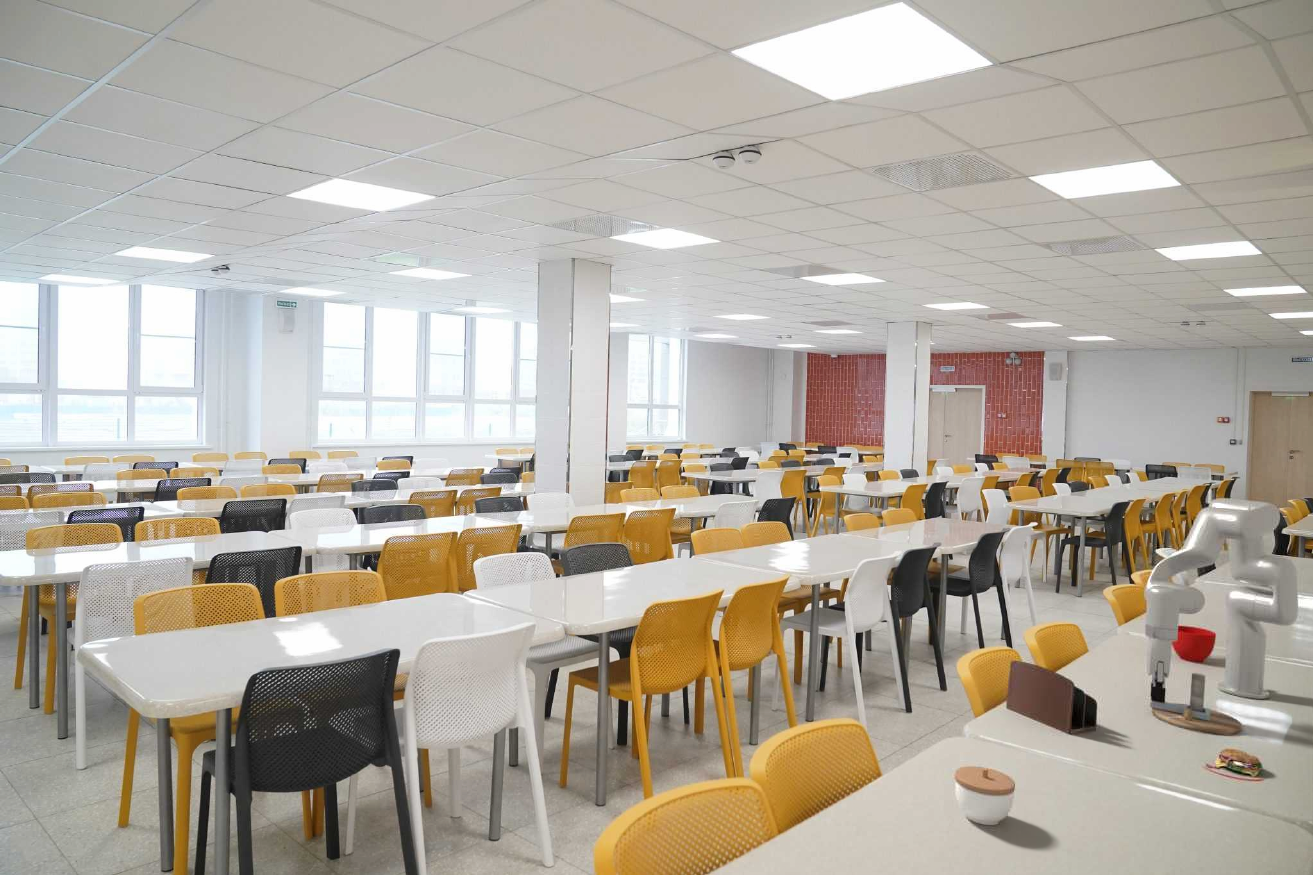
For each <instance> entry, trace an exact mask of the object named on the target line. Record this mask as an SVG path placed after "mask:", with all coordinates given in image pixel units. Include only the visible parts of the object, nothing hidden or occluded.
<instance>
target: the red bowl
mask: <svg viewBox="0 0 1313 875" xmlns="http://www.w3.org/2000/svg"><path fill="white" fill-rule="evenodd" d="M1216 636H1217V634H1216V632H1215V631H1212V630H1209V629H1205V628H1201V627H1196V626H1187V625H1178V637H1177V641H1174V642H1172V649H1173V651H1174V652H1175V654H1176V655H1177V656H1178V657H1179V659H1180V660H1183V661H1187V662H1191V663H1203V662H1204V661H1205V660H1207V659H1208V658H1209V657H1210V655H1211V654H1212V652H1213V651H1214V648H1215V644H1216Z"/></svg>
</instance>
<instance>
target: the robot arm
mask: <svg viewBox="0 0 1313 875" xmlns="http://www.w3.org/2000/svg"><path fill="white" fill-rule="evenodd" d="M1280 514H1281V513H1280V510H1279V509H1278V507H1277V506H1276V505H1274V504H1273V503H1271V502H1265V501H1256V500H1246V499H1237V498H1229V497H1228V498H1227V497H1226V498H1225V497H1223V498H1222V497H1221V498H1215V499H1212V500H1211V501H1210V502H1209V504H1208V507H1207V506H1206V507H1203V508H1202V509H1201V510H1199V512H1198V514H1197V515H1196V517H1195V520H1194V521H1193V524H1192V525H1191V529H1190V530H1189V533H1188V535H1187V537H1186V539H1185V541H1184V544H1183V546H1182V547H1181V548H1180V549H1179V550H1177V551H1175V552H1172V553H1171V554H1169V555H1168V556H1166V557H1165V558H1163V559H1162V560H1161V561H1159V562H1158V563H1157V564H1156V565H1155V566H1154V567H1153V569H1152V570H1151V573H1150V575H1149V577H1148V579H1147V582H1146V584H1145V587H1144V590H1143V591H1144V592H1143V593H1144V594H1143V596H1144V599H1145V602H1146V614H1145V630H1144V637H1146V638H1148V646H1147V659H1146V660H1147V661H1146V672H1147V675H1148V676H1151V675H1152V676H1151V679H1152V680H1151V682H1150V701H1155V702H1160V703H1165V702H1166V691H1167V690H1166V679H1168V678H1169V677H1170V676H1169V675H1170V671H1171V670H1170V669H1171V662H1172V661H1171V660H1172V649H1173V646H1172V642H1174V641H1177V637H1178V626H1179V617H1180V616H1179V614H1185V615H1195V614H1197V613H1199V612H1201V611H1202V609H1203V608H1204V606H1205V605H1206V604H1205V603H1206V599H1205V598H1206V597H1205V595H1204V593H1203V592H1202V591H1201V590H1200V589H1198V588H1197V587H1194V586H1191V585H1190V586H1189V585H1185V584H1181V583H1176V582H1170V580H1171V579H1172V578H1173V577H1174V576H1176V575H1178V574H1180V573H1183V572H1186V571H1191V570H1194V569H1200V568H1205V567H1209V566H1212V565H1213V564H1214V563H1216V562H1217V560H1218V557H1219V556H1220V555H1219V554H1220V552H1221V550H1222V549H1223V546H1224V544H1225V542H1226V540H1227V539H1228V540H1227V541H1228V542H1227V543H1228V555H1229V556H1228V557H1229V569H1230V570H1229V571H1230V574H1231V577H1232V578H1233V580H1235V581H1237V582H1239V583H1242V584H1247V585H1235V586H1233V587H1231V588H1229V589H1228V591H1227V592H1226V594H1225V608H1226V613H1227V634H1226V635H1227V637H1226V651H1225V662H1224V663H1225V668H1224V678H1223V679H1224V681H1219V682H1218V684H1217V688H1218V689H1219V690H1220V691H1222V692H1224V693H1227V694H1229V695H1235V696H1237V697H1241V698H1242V697H1243V698H1247V699H1248V698H1249V699H1257V700H1259V699H1260V700H1262V699H1265V700H1266V699H1268V698H1269V697H1270V692H1269V691H1268V690H1266V689H1264V679H1265V668H1266V667H1265V666H1266V665H1265V664H1266V651H1267V648H1266V647H1267V634H1266V631H1265V628H1264V627H1263V626H1262V624H1261V623H1260V622H1263V623H1266V624H1273V625H1277V626H1283V627H1289V626H1292V625H1293V624H1294V623H1295V622H1296V621H1297V619H1298V615H1299V597H1298V596H1299V595H1298V594H1299V593H1298V575H1297V574H1298V573H1297V568H1296V566H1295V564H1294V562H1293V561H1292V560H1291V559H1289V558H1288V557H1285V556H1282V555H1275V554H1269V553H1267V552H1266V551H1265V546H1264V545H1265V544H1264V543H1265V542H1264V536H1266V535H1268V534H1270V533H1272V532H1273V531H1275V530H1276V528H1277V527H1279V526H1278V525H1279V524H1280V520H1281V515H1280ZM1249 585H1252V586H1249ZM1254 586H1257V587H1254ZM1258 586H1259V587H1258ZM1261 587H1264V588H1261ZM1266 588H1270V589H1271V590H1270V589H1266ZM1156 678H1157V679H1156ZM1155 682H1156V683H1155Z"/></svg>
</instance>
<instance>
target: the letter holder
mask: <svg viewBox="0 0 1313 875" xmlns="http://www.w3.org/2000/svg"><path fill="white" fill-rule="evenodd" d="M1007 682H1008V684H1007V694H1006V695H1007V696H1006V702H1005V703H1006V704H1005V705H1006V709H1008V710H1010V711H1012V712H1015V713H1018V714H1020V715H1022V716H1024V717H1027V718H1029V719H1032V720H1034V721H1036V722H1038V723H1041V724H1043V725H1046V726H1048V727H1051V728H1052V729H1056V730H1058V731H1060V732H1063V733H1065V734H1067V735H1074V734H1080V733H1087V732H1093V731H1096V730H1097V724H1098V723H1097V721H1098V719H1097V718H1098V716H1097V715H1098V703H1097V700H1096V699H1095V698H1094V697H1092V696H1091V695H1089V694H1087V693H1085V691H1084V690H1083V689H1081V688H1079V687H1077V686H1075V683H1074V682H1073V681H1072V680H1071V679H1070V678H1067V677H1065V676H1064V675H1062V674H1060V673H1057V672H1055V671H1054V670H1051V669H1049V668H1046V667H1044V666H1040V665H1037V664H1034V663H1029V662H1025V661H1020V660H1011V662H1010V664H1009V675H1008V681H1007Z"/></svg>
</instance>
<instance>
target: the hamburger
mask: <svg viewBox="0 0 1313 875" xmlns="http://www.w3.org/2000/svg"><path fill="white" fill-rule="evenodd" d="M1214 762H1215V763H1214V764H1215V766H1213V765H1211V764H1209V763H1206V764H1205V766H1202V768H1203V769H1205V770H1206V771H1209V772H1211V773H1214V774H1217V775H1219V776H1223V777H1227V778H1231V779H1235V780H1239V781H1247V782H1262V781H1265V780H1266V778H1260V779H1259V778H1258V779H1255V776H1257V775H1258V774H1259V772H1260V771H1261V770H1263V768H1264V767H1263V764H1262V762H1261V761H1260V759H1259V757H1258V756H1255V755H1253V754H1250V753H1248V752H1245V751H1242V750H1239V749H1234V748H1224V749H1222V750H1221V751H1220V752H1219V753H1218V757H1217V758H1216V759H1215V761H1214ZM1221 767H1225V768H1226V769H1229V770H1231V771H1234V772H1239V773H1243V774H1250V775H1251V777H1253V778H1254V779H1252V778H1250V779H1249V778H1242V777H1237V776H1236V777H1235V776H1231V775H1227V774H1223V773H1220V772H1218V771H1214V770H1221ZM1212 769H1213V770H1212Z"/></svg>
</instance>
